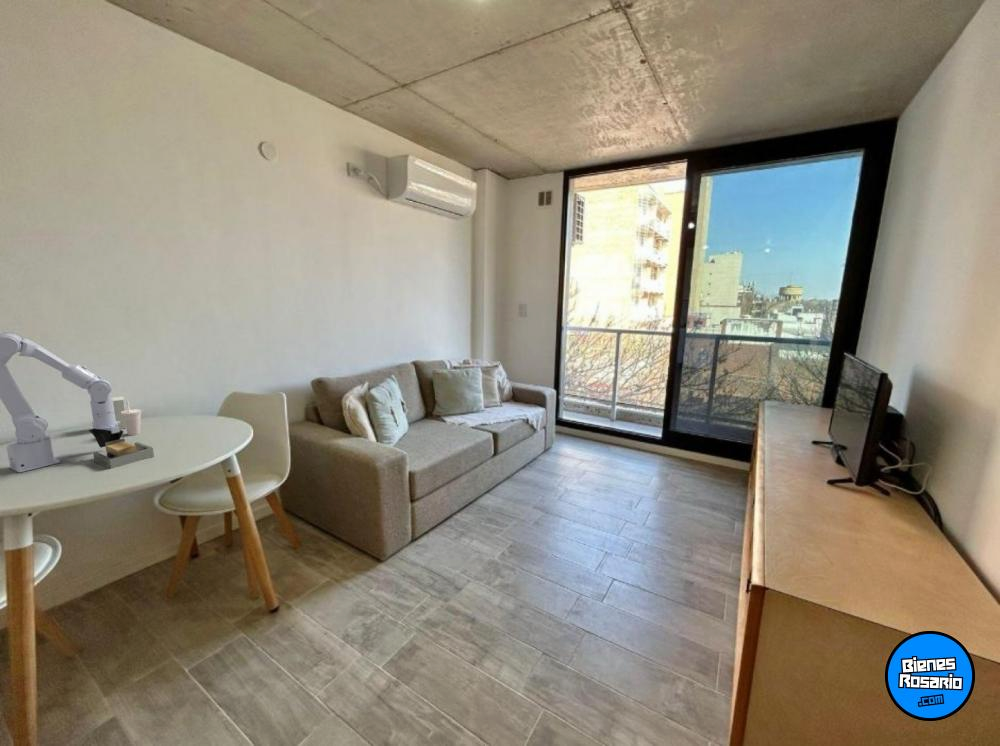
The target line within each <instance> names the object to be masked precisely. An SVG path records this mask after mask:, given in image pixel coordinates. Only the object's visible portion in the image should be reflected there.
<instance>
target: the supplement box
mask: <svg viewBox="0 0 1000 746" xmlns="http://www.w3.org/2000/svg"><path fill="white" fill-rule="evenodd" d="M111 398H112V399H113V405H114V412H115V419H116V421H119V422H120V424H117V426H118V427H119V430H123V429H126V427H125V424H124V421H123V418H122V415H121V412H122V411H126V404H125V397H124V396H114V397H111Z"/></svg>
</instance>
